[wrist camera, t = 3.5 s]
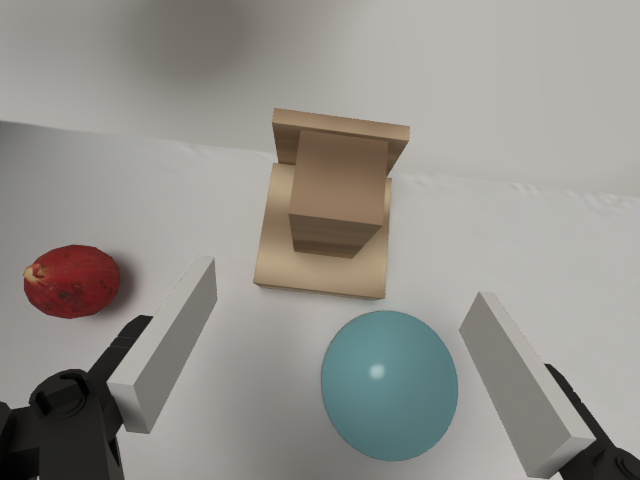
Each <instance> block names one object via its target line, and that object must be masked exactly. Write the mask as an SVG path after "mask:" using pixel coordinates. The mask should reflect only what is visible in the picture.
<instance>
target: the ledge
mask: <svg viewBox="0 0 640 480" xmlns="http://www.w3.org/2000/svg"><path fill="white" fill-rule="evenodd" d="M272 125H273V132H274V138H275V144H276V149H277V156H278V162H279V163H273V167H272V173H271V179H270V185H269V191H268V197H267V203H266V209H265V215H264V221H263V227H262V232H261V238H260V244H259V250H258V256H257V262H256V268H255V274H254V280H253V283H254V284H256V285H258V286H260V287H267V288H275V289H283V290H292V291H300V292H308V293H317V294H325V295H334V296H342V297H350V298H359V299H367V300H378V299H384V298H385V283H386V267H387V250H388V233H389V216H390V199H391V182H392V178H387V176H388V174H389V172H390V171H391V169H392V168H393V166H394V164H395V163H396V161H397V159H398V158H399V156H400V155H401V153H402V151H403V150H404V148H405V146H406V144H407V143H408V142H409V130H410V127H409V126H403V125H396V124H389V123H381V122H374V121H366V120H359V119H352V118H344V117H337V116H330V115H322V114H315V113H307V112H300V111H293V110H285V109H277V108H274V114H273V120H272ZM301 130H305V131H313V132H320V133H328V134H335V135H343V136H350V137H358V138H365V139H372V140H380V141H387V142H388V153H387V169H386V184H385V200H384V215H383V226H382V227H381V228H380V229H379V230H378V231H377V232H376V233H375V235H374V236H373V237H372V238H371V239H370V240H369V241H368V242H367V243H366V244H365V245H364V246H363V248H362V249H361V250H360V251H359V252H358V253H357V254H356V255H355V256H354V257H353V258H352V259H350V258H341V257H333V256H325V255H317V254H309V253H301V252H294V248H293V241H292V234H291V228H290V221H289V214H288V212H289V206H290V199H291V192H292V185H293V179H294V172H295V165H296V158H297V152H298V145H299V138H300V131H301Z"/></svg>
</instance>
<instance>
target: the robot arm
mask: <svg viewBox="0 0 640 480" xmlns="http://www.w3.org/2000/svg"><path fill="white" fill-rule="evenodd" d="M216 302H217V289H216V275H215V262H214V257H207V256H199V255H198V257H197V258H196V259H195V261H194V262H193V264H192V265H191V266H190V268H189V269H188V270H187V272H186V273H185V275H184V276H183V277H182V279H181V280H180V281H179V283H178V284H177V286H176V287H175V288H174V290H173V291H172V292H171V294H170V295H169V297H168V298H167V299H166V301H165V302H164V303H163V305H162V306H161V308H160V309H159V310H158V312H157V313H156V315H155V316H154V317H153V316H145V315H139V316H138V317H136V318H135V319H133V320H132V321H131V322H129V323H128V324H127V325H126V326H125V327H124V328H123V329H122V331H121V332H120V333H119V334H118V337H117V338H115V339H114V341H113V342H112V343H111V344H110V347H108V348H107V349H106V350H105V352H104V353H103V354H102V355H101V357H100V358H99V359H98V360H97V362H96V363H95V364H94V365H93V367H92V368H91V369H90V370H89V371H88V373H87V372H85V371H83V370H81V369H69V370H65V371H61V372H59V373H57V374H55V375H53V376H51V377H48V378H47V379H46V380H45V381H43V382H42V383H41V384H39V385H38V386H37V388H36V389H35V390H34V391H33V393H32V394H31V397H30V400H29V404H30V406H29V407H23V408H18V409H12V410H11V409H10V408H9V406H8V405H7V404H6V403H4V402H0V480H37V477H38V476H39V480H124V474H123V469H122V463H121V457H120V452H119V446H118V441H117V437H116V434H117V432H118V430H119V429H120V427H121V425H122V424H124V426H125V429H126V431H127V432H135V433H144V434H150V432H151V430H152V428H153V426H154V424H155V422H156V420H157V418H158V416H159V414H160V412H161V410H162V408H163V406H164V404H165V402H166V400H167V398H168V396H169V394H170V392H171V390H172V389H173V387H174V385H175V383H176V381H177V379H178V377H179V375H180V373H181V371H182V369H183V367H184V365H185V363H186V361H187V359H188V357H189V355H190V353H191V351H192V349H193V347H194V345H195V343H196V341H197V339H198V337H199V335H200V333H201V331H202V329H203V327H204V325H205V323H206V321H207V319H208V317H209V315H210V313H211V312H212V310H213V308H214V306H215V304H216ZM459 331H460V333H461V336H462V338H463V340H464V342H465V344H466V346H467V348H468V351H469V353H470V355H471V357H472V359H473V361H474V363H475V365H476V368H477V370H478V372H479V374H480V376H481V378H482V380H483V383H484V385H485V387H486V389H487V391H488V393H489V395H490V398H491V400H492V402H493V404H494V406H495V408H496V410H497V412H498V415H499V417H500V419H501V421H502V423H503V425H504V427H505V430H506V432H507V434H508V436H509V438H510V440H511V442H512V445H513V447H514V449H515V451H516V453H517V455H518V457H519V460H520V462H521V464H522V466H523V468H524V470H525V472H526V474H527V477H534V478H543V479H550V478H551V477H552V476H553V475H554V474H556V473H557V472H558V471H559V473H560V474H561V476H562V478H563V480H640V460H639V459H637V458H636V457H635V456H633V455H632V454H631V453H629V452H627V451H625V450H623V449H621V448H617V447H616V446H615V445H614V444H613V443H612V441H611V440H610V439H609V437H608V436H607V435H606V433H605V432H604V431H603V429H602V428H601V427H600V425H599V424H598V422H597V421H596V420H595V418H594V417H593V416H592V414H591V413H590V412H589V410H588V409H587V408H586V406H585V405H584V403H581V399H580V398H579V397H578V395H577V394H576V393H575V392H573V388H572V387H571V386H570V384H569V383H568V382H567V380H566V379H565V378H564V376H563V375H562V374H560V373H559V372H558V371H557V370H556V369H555V368H554V367H553V366H552V365H550V364H543V362H542V361H541V359H540V358H539V356H538V355H537V354H536V352H535V351H534V349H533V348H532V346H531V345H530V344H529V342H528V341H527V339H526V338H525V336H524V335H523V334H522V332H521V331H520V329H519V328H518V326H517V325H516V324H515V322H514V321H513V319H512V318H511V316H510V315H509V314H508V312H507V311H506V309H505V308H504V306H503V305H502V304H501V302H500V301H499V299H498V298H497V296H496V295H495V294H494V293H489V292H481V291H479V292H478V294H477V296H476V298H475V300H474V302H473V304H472V306H471V308H470V310H469V312H468V313H467V315H466V317H465V319H464V321H463V323H462V325H461V327H460V329H459Z"/></svg>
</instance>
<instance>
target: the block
mask: <svg viewBox="0 0 640 480" xmlns="http://www.w3.org/2000/svg"><path fill="white" fill-rule="evenodd" d="M387 153H388V142H387V141H380V140H372V139H365V138H358V137H350V136H343V135H335V134H328V133H320V132H313V131H305V130H301V131H300V138H299V145H298V152H297V158H296V165H295V172H294V179H293V185H292V192H291V199H290V206H289V212H288V214H289V221H290V228H291V234H292V241H293V248H294V252H301V253H309V254H317V255H325V256H333V257H341V258H350V259H352V258H353V257H354V256H355V255H356V254H357V253H358V252H359V251H360V250H361V249H362V248H363V246H364V245H365V244H366V243H367V242H368V241H369V240H370V239H371V238H372V237H373V236H374V235H375V233H376V232H377V231H378V230H379V229H380V228H381V227H382V226H383V215H384V200H385V184H386V169H387Z"/></svg>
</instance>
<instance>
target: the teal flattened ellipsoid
mask: <svg viewBox="0 0 640 480" xmlns="http://www.w3.org/2000/svg"><path fill="white" fill-rule="evenodd" d="M321 387H322V394H323V399H324V403H325V407H326V410H327V412H328V415H329V417H330V419H331V421H332V423H333V425H334V427H335V428H336V430H337V431H338V432H339V434H340V435H341V436H342V437H343V438H344V439H345V441H346V442H348V443H349V444H350V445H351V446H352V447H353V448H355V449H356V450H358V451H360V452H361V453H363V454H365V455H367V456H370V457H372V458H376V459H379V460H385V461H401V460H407V459H411V458H413V457H416V456H419V455H420V454H422V453H424V452H426V451H427V450H429V449H430V448H431V447H433V446H434V445H435V444H436V443H437V442H438V441H439V440H440V439H441V438H442V436H443V435H444V434H445V432H446V431H447V429H448V427H449V425H450V423H451V421H452V419H453V416H454V413H455V409H456V405H457V398H458V381H457V374H456V370H455V366H454V363H453V360H452V357H451V355H450V353H449V351H448V349H447V347H446V346H445V344H444V343H443V341H442V340H441V339H440V337H439V336H438V335H437V334H436V333H435V332H434V331H433V330H432V329H431V328H430V327H429V326H427V325H426V324H425V323H423V322H422V321H420V320H418V319H417V318H414V317H412V316H410V315H407V314H404V313H400V312H393V311H378V312H371V313H367V314H364V315H362V316H359V317H357V318H355V319H353V320H352V321H350V322H349V323H348V324H346V325H345V326H344V327H343V328H342V329H341V330H340V331H339V332H338V333H337V334H336V336H335V337H334V338H333V340H332V341H331V343H330V345H329V347H328V349H327V352H326V354H325V357H324V361H323V365H322V372H321Z"/></svg>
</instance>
